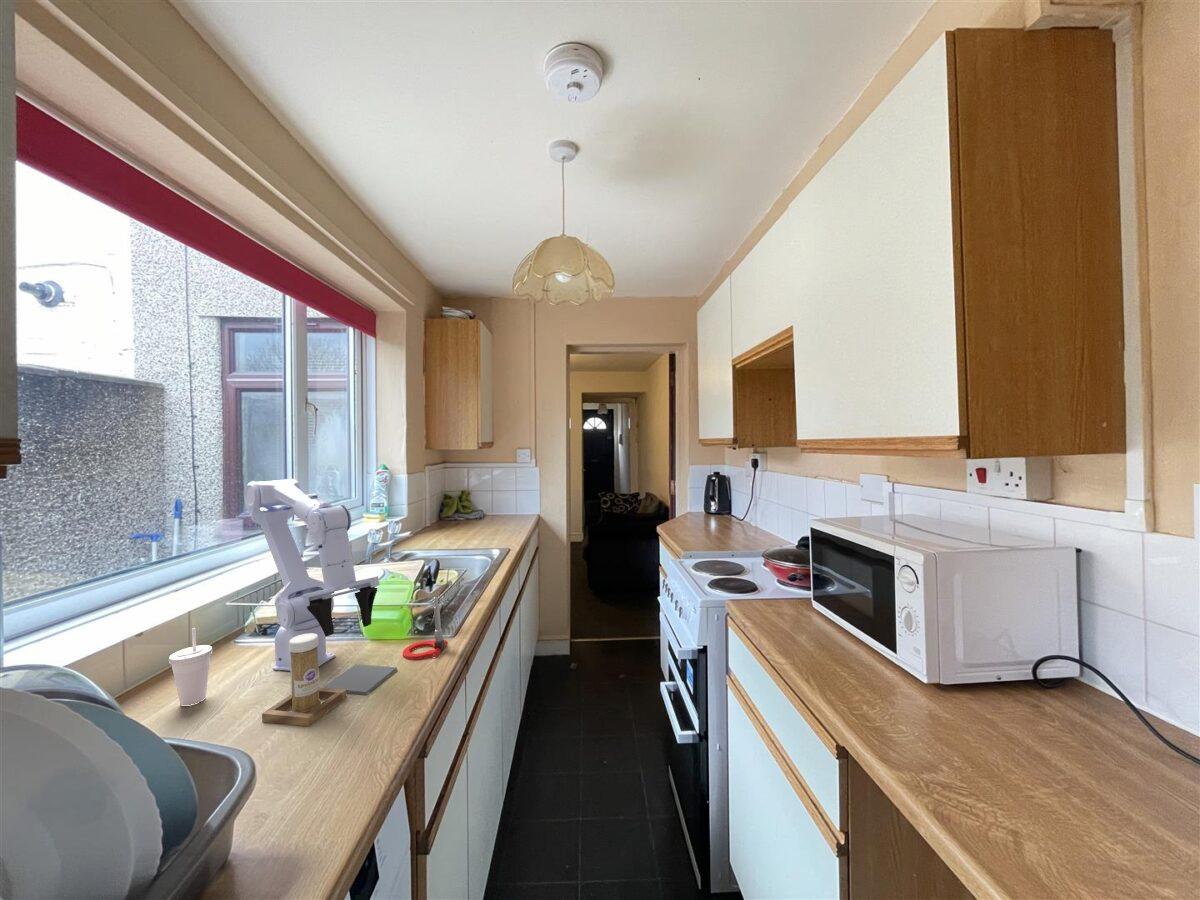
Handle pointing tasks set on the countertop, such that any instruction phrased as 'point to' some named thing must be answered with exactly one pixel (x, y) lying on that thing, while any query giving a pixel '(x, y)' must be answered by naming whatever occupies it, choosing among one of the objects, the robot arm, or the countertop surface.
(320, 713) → the collar
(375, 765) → the countertop surface
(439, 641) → the tow hook
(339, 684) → the coaster
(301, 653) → the sprinkles bottle
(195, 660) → the smoothie
